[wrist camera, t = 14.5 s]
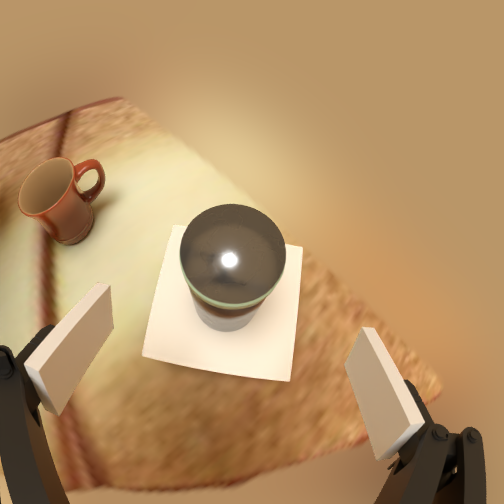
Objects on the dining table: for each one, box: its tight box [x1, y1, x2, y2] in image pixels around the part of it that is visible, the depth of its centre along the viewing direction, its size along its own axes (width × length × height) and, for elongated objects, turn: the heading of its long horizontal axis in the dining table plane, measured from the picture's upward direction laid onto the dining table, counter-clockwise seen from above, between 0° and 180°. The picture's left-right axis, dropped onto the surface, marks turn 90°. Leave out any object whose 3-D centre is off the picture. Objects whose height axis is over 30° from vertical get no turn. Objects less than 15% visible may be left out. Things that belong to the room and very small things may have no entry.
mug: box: [18, 157, 105, 245], centre depth 31 cm, size 12×9×10 cm
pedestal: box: [142, 224, 303, 382], centre depth 30 cm, size 14×14×7 cm
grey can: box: [179, 204, 286, 332], centre depth 21 cm, size 6×6×12 cm
